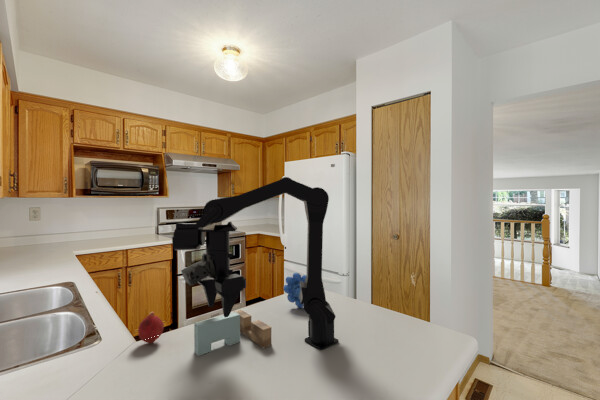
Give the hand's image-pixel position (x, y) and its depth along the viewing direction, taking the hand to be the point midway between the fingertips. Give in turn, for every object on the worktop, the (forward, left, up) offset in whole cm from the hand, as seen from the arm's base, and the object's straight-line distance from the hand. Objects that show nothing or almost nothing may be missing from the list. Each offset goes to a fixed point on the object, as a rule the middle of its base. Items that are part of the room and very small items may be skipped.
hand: (218, 311), depth 73 cm
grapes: (+7, -32, -9) cm, 34 cm away
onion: (+13, +13, -9) cm, 20 cm away
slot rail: (0, -9, -9) cm, 13 cm away
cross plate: (0, 0, -9) cm, 9 cm away
